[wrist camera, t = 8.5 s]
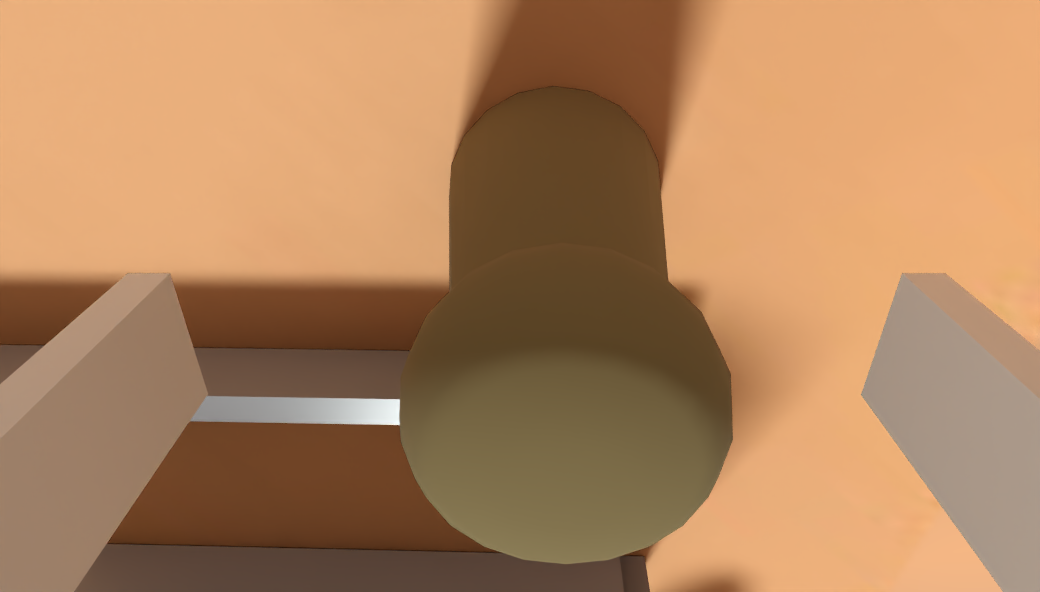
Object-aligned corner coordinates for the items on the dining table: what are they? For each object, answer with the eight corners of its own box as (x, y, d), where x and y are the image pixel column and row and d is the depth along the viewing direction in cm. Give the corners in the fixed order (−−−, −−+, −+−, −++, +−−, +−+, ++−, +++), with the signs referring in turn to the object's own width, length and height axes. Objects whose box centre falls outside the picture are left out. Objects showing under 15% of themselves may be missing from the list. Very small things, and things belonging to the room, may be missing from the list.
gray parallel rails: (73, 558, 27) (32, 613, 25) (-43, 344, 21) (-108, 390, 19) (642, 572, 26) (650, 630, 24) (673, 354, 21) (688, 404, 19)
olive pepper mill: (413, 131, 17) (259, 378, 8) (628, 52, 16) (752, 231, 7) (494, 309, 20) (450, 651, 11) (682, 253, 19) (823, 581, 9)
